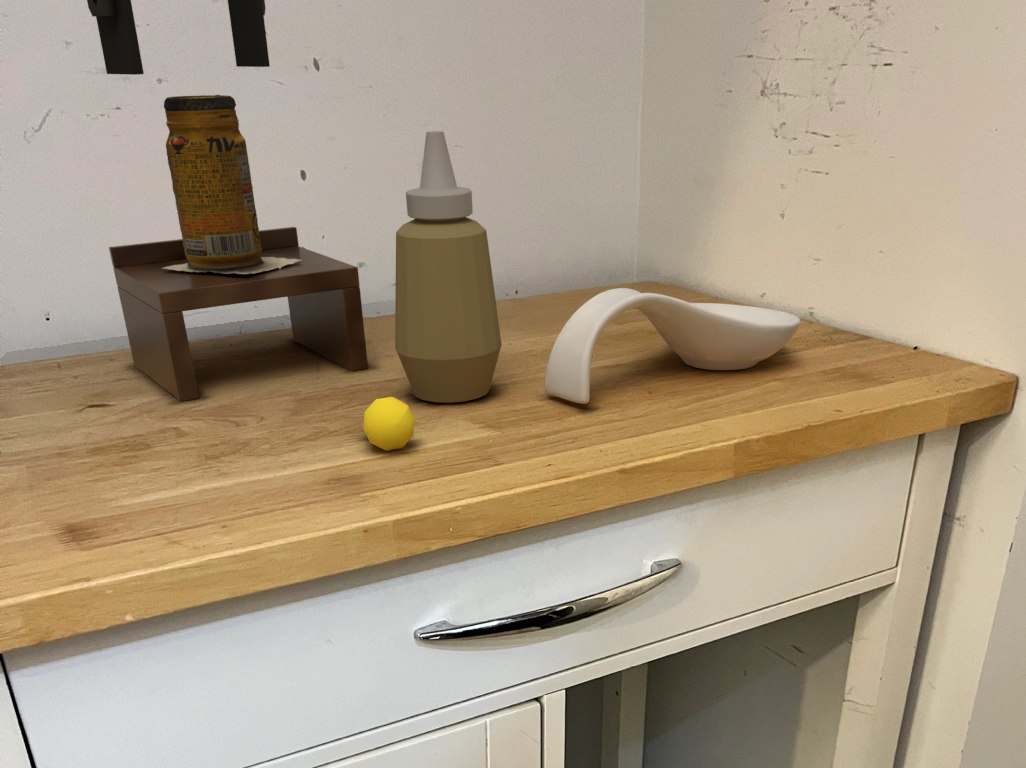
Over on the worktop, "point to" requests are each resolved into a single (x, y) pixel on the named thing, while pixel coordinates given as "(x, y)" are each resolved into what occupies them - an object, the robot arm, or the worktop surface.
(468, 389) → the squeeze bottle
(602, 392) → the worktop surface
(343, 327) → the walnut shelf
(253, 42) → the robot arm
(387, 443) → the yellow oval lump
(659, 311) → the spoon rest
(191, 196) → the condiment
